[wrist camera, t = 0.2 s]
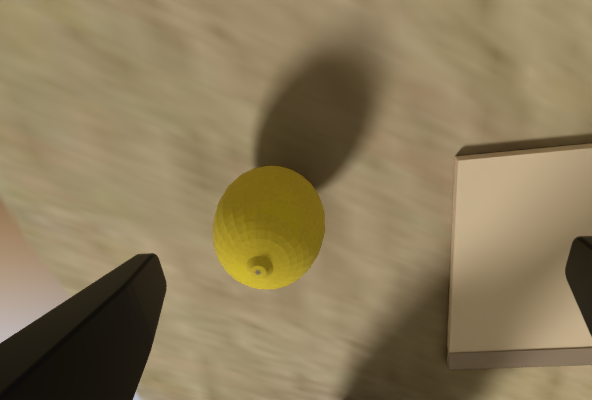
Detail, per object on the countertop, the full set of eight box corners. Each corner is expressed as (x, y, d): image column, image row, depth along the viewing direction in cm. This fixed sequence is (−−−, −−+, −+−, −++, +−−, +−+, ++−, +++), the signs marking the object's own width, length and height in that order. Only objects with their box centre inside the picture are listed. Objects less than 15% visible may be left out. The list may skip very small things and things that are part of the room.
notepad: (627, 355, 29) (633, 363, 28) (446, 361, 30) (448, 369, 30) (697, 133, 22) (708, 137, 21) (455, 156, 23) (458, 161, 22)
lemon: (323, 142, 23) (321, 215, 16) (326, 228, 26) (325, 322, 19) (225, 146, 24) (182, 217, 17) (238, 229, 26) (204, 322, 19)
